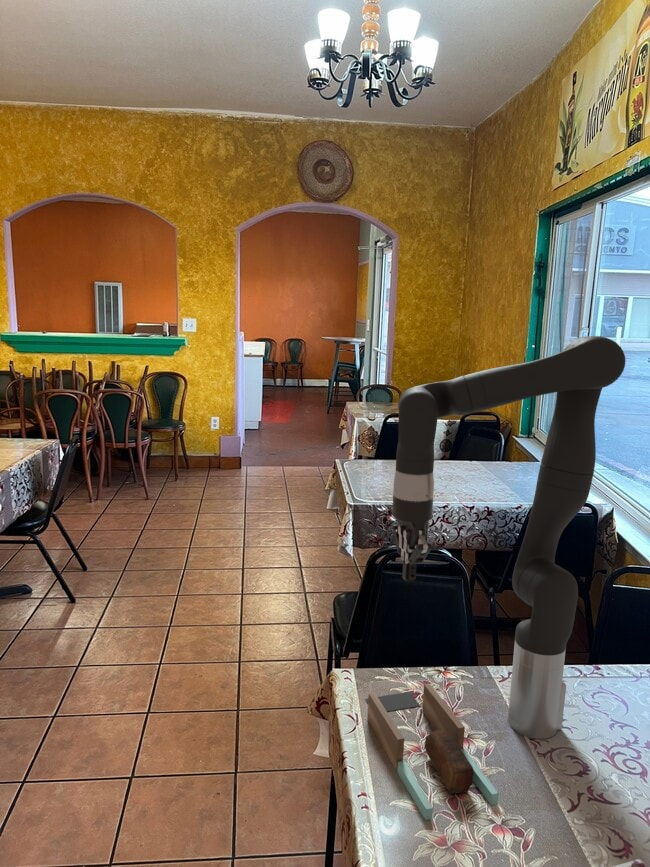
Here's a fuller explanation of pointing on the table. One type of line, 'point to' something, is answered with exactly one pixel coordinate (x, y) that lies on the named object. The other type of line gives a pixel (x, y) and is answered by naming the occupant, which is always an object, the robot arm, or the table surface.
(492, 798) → the bay
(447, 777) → the brick
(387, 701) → the pad
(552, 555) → the robot arm
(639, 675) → the table surface
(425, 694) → the trench
